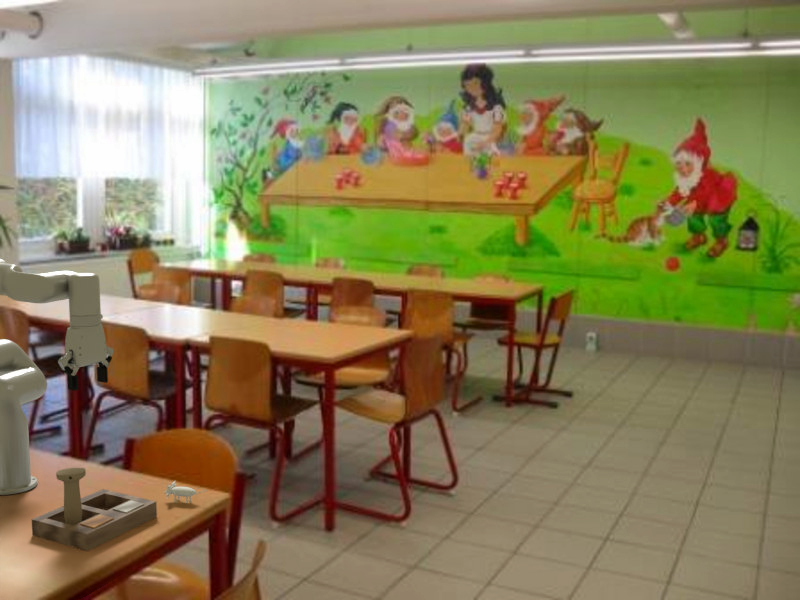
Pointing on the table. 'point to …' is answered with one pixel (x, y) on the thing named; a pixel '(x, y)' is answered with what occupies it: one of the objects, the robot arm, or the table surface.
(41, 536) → the socket block
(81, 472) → the handle
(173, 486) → the white animal figurine
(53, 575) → the table surface
